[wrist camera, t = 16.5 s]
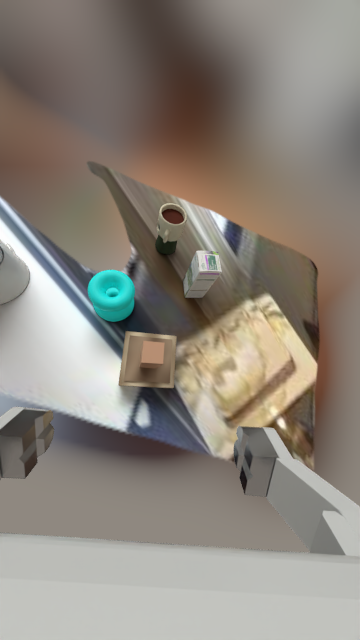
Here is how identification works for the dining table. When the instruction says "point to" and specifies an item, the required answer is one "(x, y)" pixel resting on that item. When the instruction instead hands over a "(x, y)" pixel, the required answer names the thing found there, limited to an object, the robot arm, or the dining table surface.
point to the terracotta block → (151, 354)
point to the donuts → (112, 295)
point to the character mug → (170, 227)
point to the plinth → (147, 376)
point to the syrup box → (201, 274)
